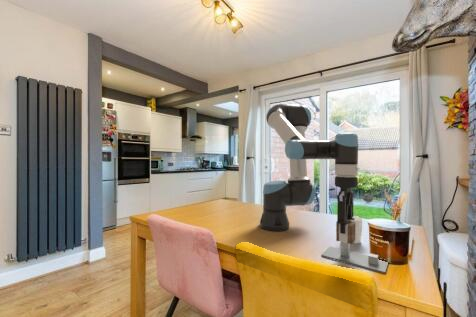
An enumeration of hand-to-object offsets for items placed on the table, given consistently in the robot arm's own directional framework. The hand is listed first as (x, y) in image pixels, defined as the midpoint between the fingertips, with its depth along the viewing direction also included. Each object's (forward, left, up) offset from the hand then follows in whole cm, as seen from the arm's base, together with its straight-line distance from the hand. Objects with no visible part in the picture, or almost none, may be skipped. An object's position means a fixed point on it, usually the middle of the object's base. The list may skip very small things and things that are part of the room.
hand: (345, 239), depth 85 cm
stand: (+3, 0, -6) cm, 7 cm away
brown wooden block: (0, 0, 0) cm, 0 cm away
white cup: (-2, +19, -7) cm, 20 cm away
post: (0, 0, -6) cm, 6 cm away
